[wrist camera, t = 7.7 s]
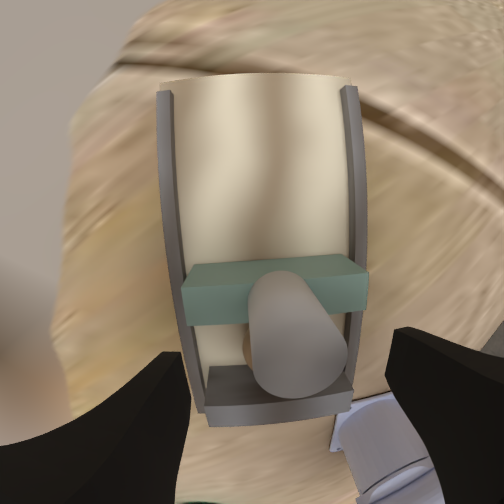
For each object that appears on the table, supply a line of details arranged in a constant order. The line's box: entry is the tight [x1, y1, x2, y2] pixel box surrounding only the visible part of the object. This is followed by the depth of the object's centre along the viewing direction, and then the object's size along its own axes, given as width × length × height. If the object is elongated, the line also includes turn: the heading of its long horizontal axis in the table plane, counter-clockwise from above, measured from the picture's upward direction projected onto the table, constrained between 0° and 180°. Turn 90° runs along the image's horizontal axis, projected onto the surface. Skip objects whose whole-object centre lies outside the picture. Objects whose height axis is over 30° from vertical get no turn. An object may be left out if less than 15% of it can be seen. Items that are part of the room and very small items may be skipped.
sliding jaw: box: [181, 254, 369, 398], centre depth 12 cm, size 9×3×9 cm, turn 93°
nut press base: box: [157, 73, 367, 427], centre depth 15 cm, size 12×24×6 cm, turn 3°
